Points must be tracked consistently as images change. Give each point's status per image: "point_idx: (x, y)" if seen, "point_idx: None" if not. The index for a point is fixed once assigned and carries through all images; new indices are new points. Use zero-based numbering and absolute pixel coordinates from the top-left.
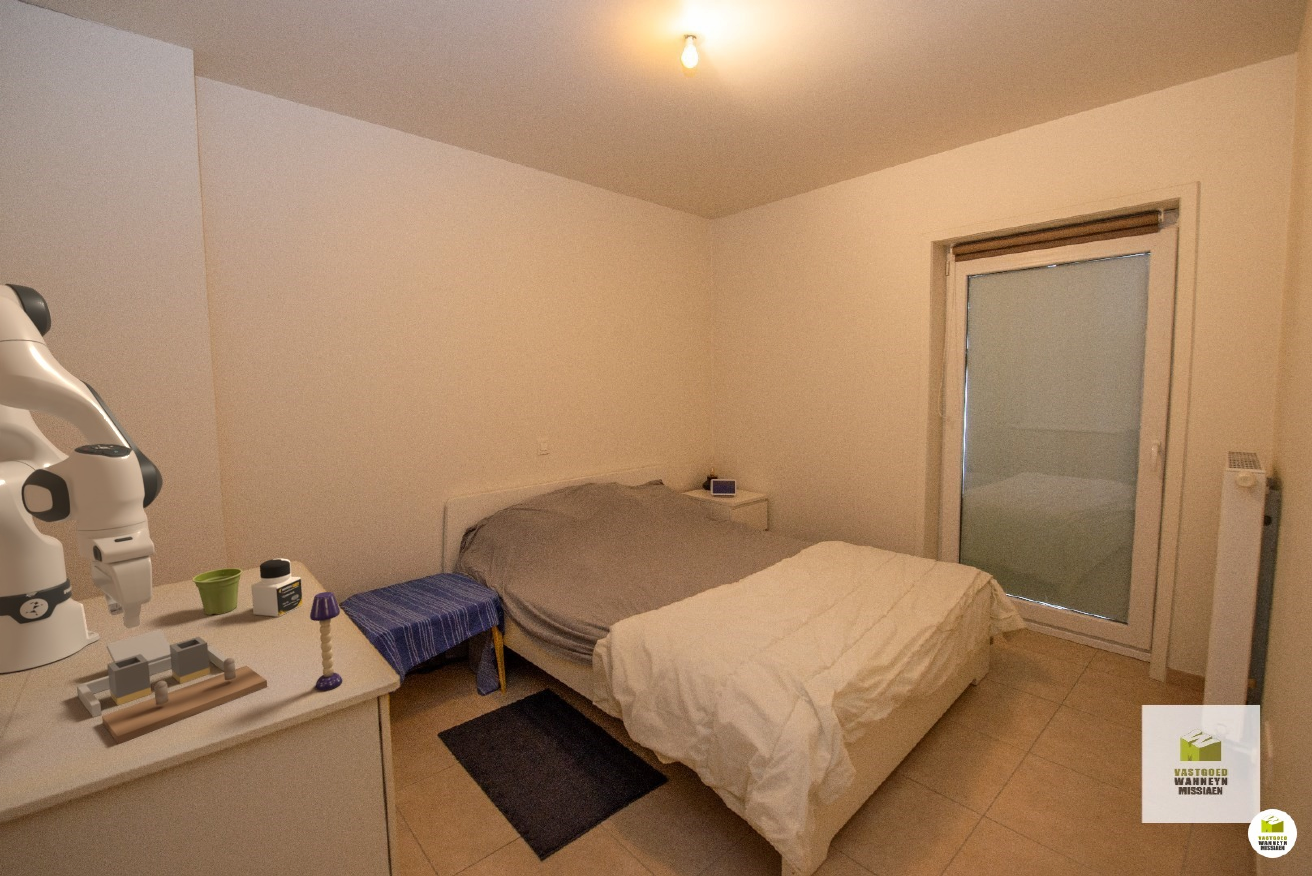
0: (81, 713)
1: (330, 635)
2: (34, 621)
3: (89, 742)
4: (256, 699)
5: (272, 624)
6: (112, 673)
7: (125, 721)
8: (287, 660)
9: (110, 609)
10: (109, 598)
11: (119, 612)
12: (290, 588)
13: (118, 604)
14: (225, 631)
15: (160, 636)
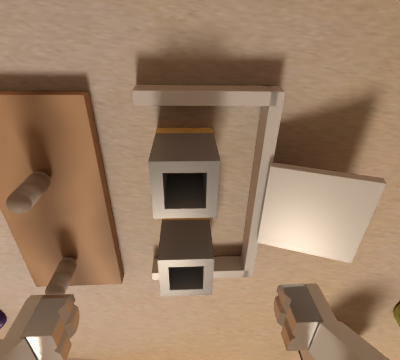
0: (177, 72)
1: None
2: None
3: (8, 53)
4: (3, 259)
5: (275, 327)
6: (171, 155)
7: (20, 119)
8: (119, 309)
9: (289, 307)
10: (347, 357)
11: (277, 302)
12: None
13: (288, 339)
14: None
15: (324, 251)
